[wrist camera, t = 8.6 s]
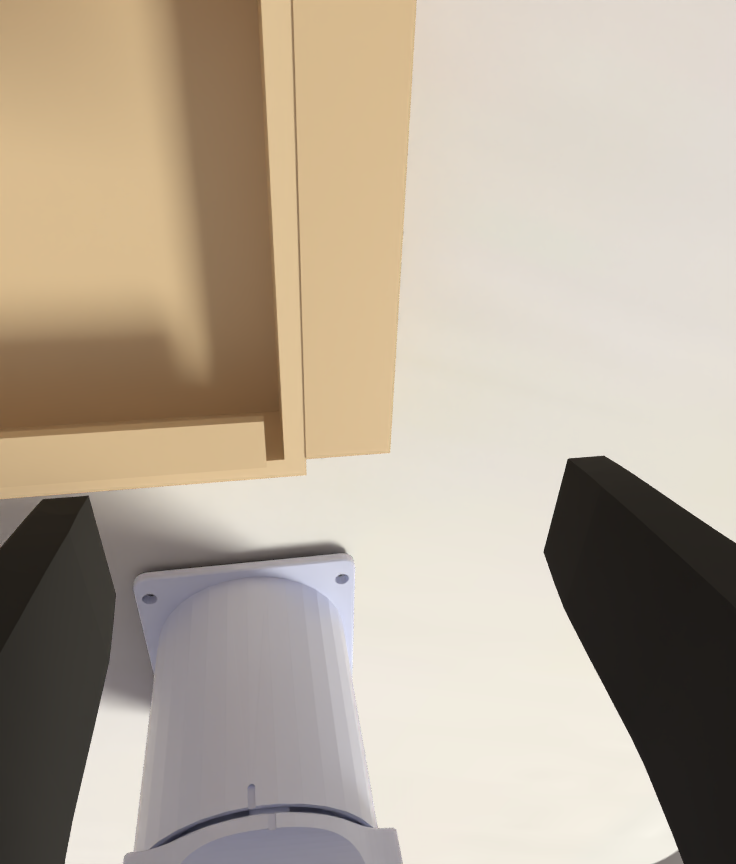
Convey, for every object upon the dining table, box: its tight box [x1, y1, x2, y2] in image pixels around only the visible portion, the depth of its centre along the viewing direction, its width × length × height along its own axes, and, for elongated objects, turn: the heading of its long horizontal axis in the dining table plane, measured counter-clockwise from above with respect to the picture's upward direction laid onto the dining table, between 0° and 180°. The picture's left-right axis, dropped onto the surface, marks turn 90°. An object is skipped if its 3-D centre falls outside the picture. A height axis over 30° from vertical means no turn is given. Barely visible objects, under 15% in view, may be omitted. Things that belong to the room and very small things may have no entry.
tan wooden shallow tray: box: [0, 0, 417, 499], centre depth 15 cm, size 14×17×3 cm
